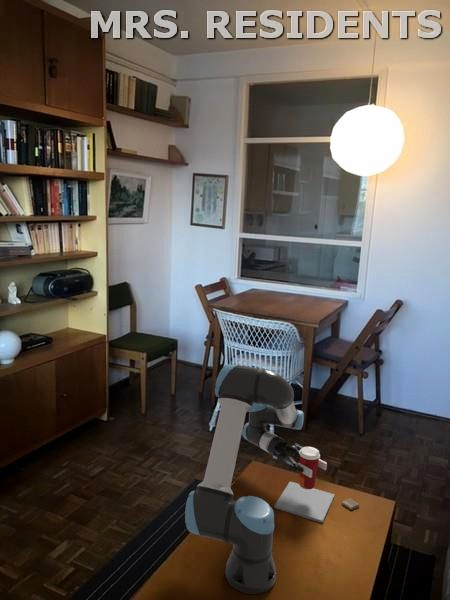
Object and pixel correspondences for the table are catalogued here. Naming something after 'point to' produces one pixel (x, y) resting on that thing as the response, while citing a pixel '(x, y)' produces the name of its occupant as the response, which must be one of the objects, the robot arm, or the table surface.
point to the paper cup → (308, 466)
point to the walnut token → (350, 504)
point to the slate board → (305, 502)
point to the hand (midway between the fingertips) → (318, 470)
